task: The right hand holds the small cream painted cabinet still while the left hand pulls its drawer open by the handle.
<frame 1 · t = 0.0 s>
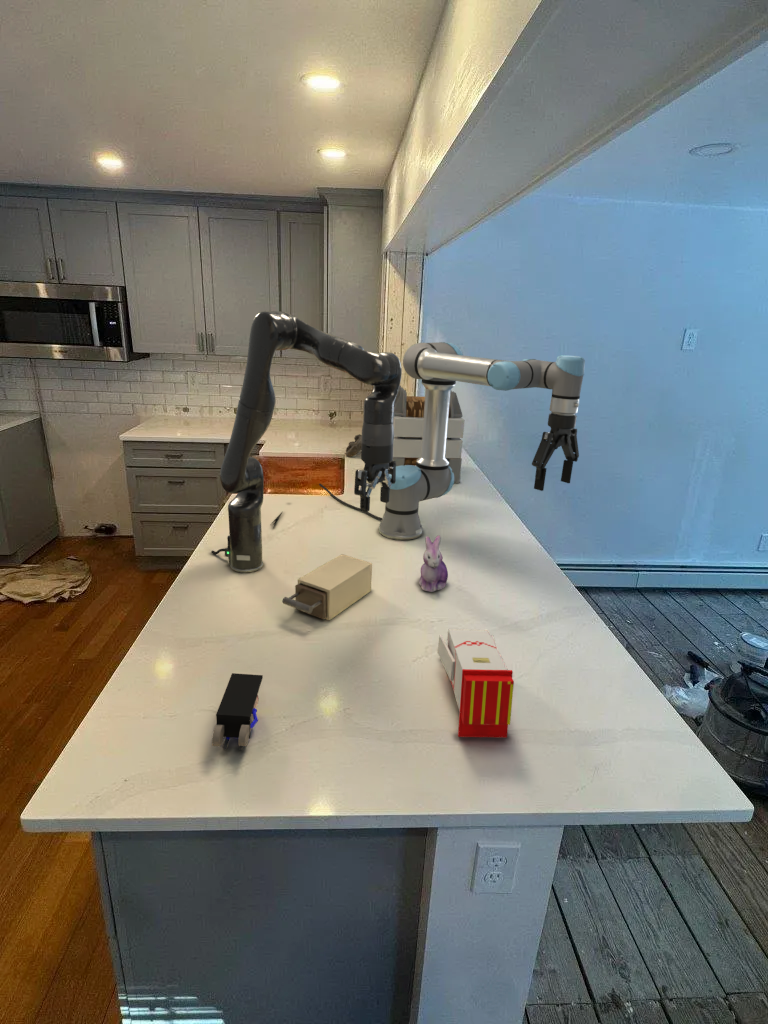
left hand: (374, 506, 138), 29 cm above the counter, tool pointing down, fingers open, 8 cm apart
right hand: (552, 485, 166), 28 cm above the counter, tool pointing down, fingers open, 13 cm apart
feather: (280, 515, 212), on the counter
drawer: (324, 592, 148), point 4 cm above the counter, slide at 0.5 cm
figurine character: (240, 729, 105), on the counter
toy: (469, 691, 119), on the counter
grey slatted crate: (419, 473, 275), on the counter
fossil: (357, 453, 307), on the counter
figurine: (432, 585, 164), on the counter
cabinet: (335, 599, 153), on the counter
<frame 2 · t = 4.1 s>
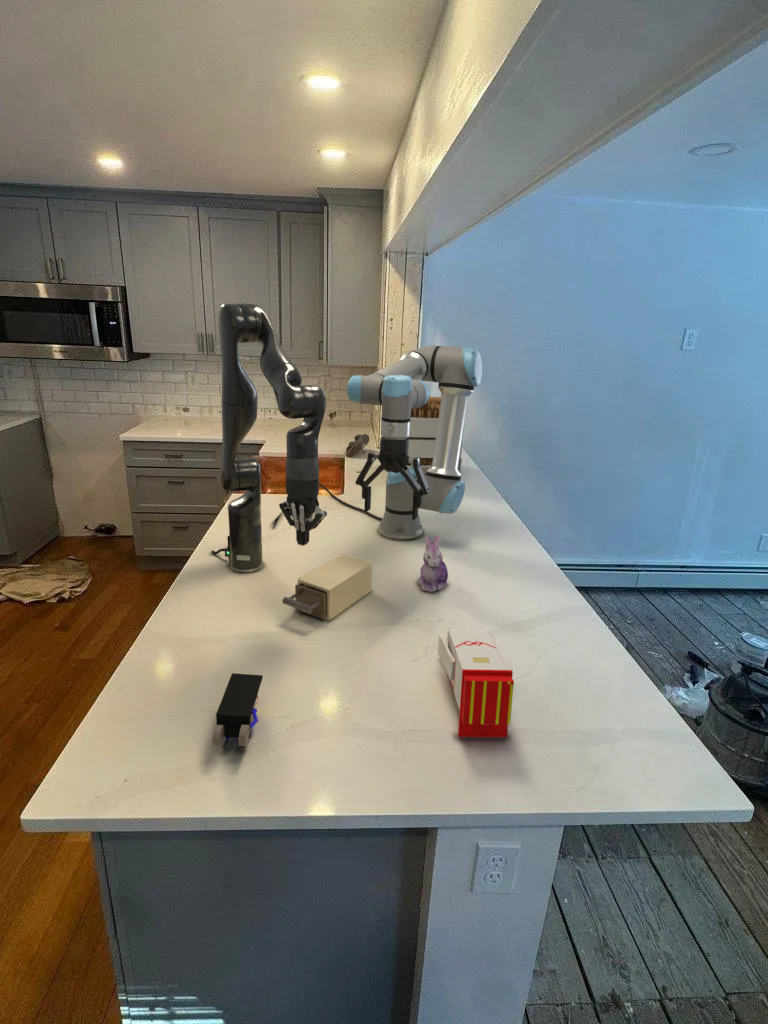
left hand: (302, 544, 135), 21 cm above the counter, tool pointing down, fingers closed
right hand: (390, 514, 154), 22 cm above the counter, tool pointing down, fingers open, 13 cm apart
nothing on the counter moved.
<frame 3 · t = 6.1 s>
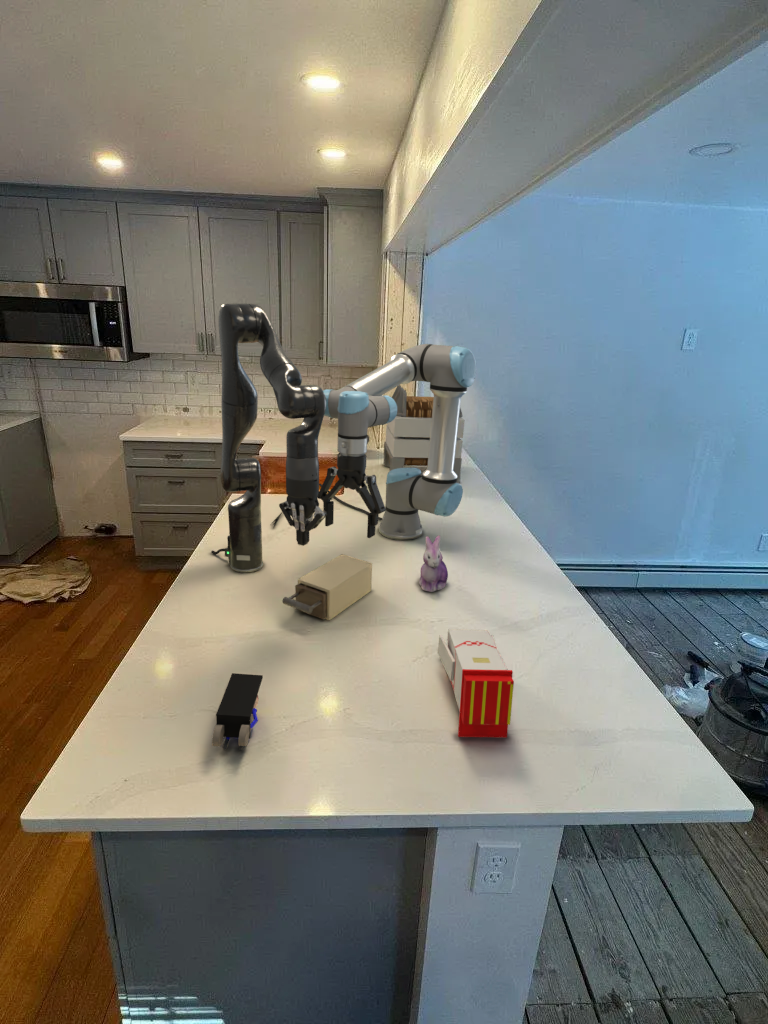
left hand: (302, 544, 135), 21 cm above the counter, tool pointing down, fingers closed
right hand: (349, 530, 152), 18 cm above the counter, tool pointing down, fingers open, 13 cm apart
nothing on the counter moved.
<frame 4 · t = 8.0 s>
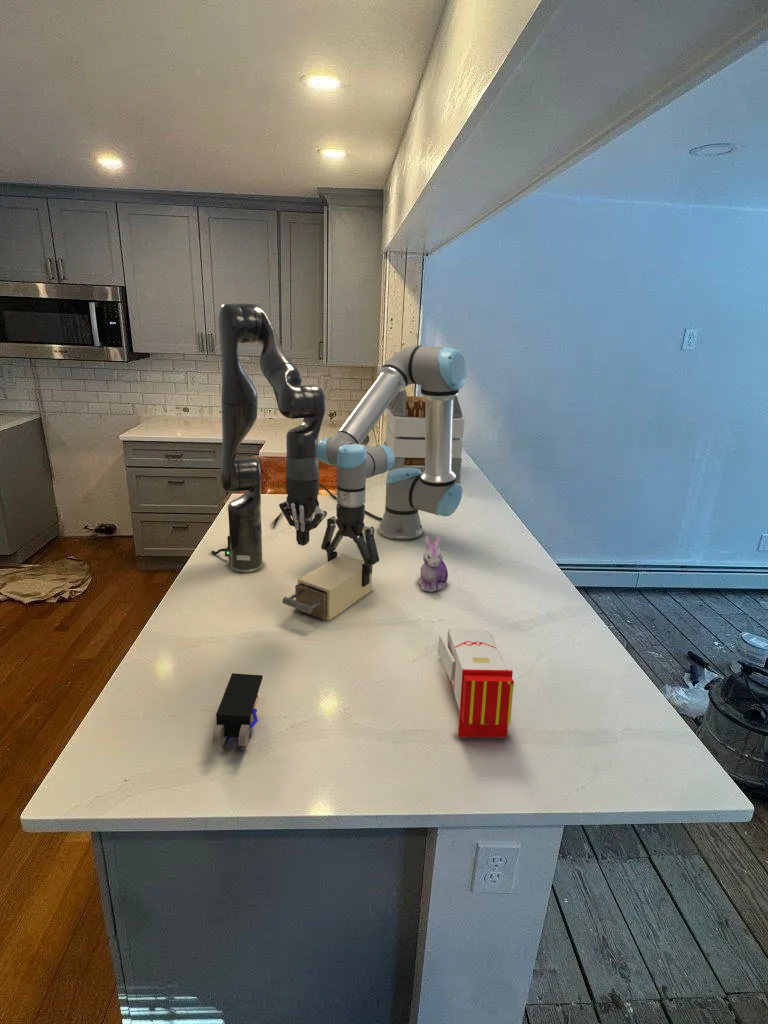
left hand: (302, 544, 135), 21 cm above the counter, tool pointing down, fingers closed
right hand: (348, 579, 157), 4 cm above the counter, tool pointing down, fingers closed on cabinet, 10 cm apart
cabinet: (335, 599, 153), on the counter, touching right hand
everything else where it was.
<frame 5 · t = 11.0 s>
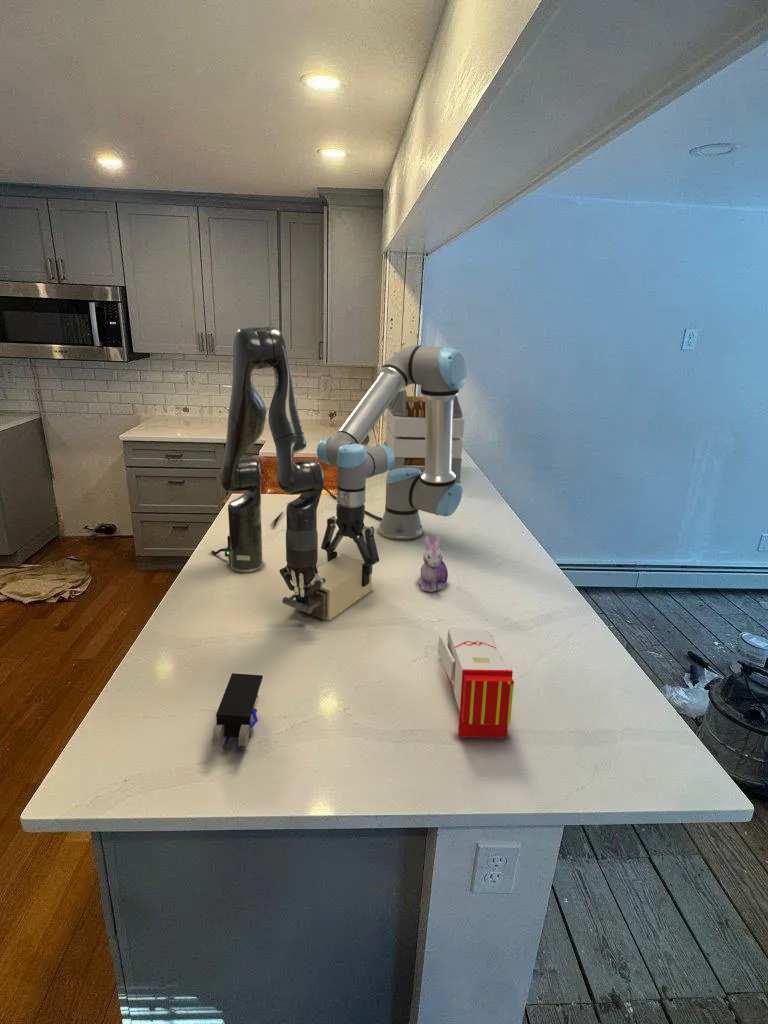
left hand: (302, 607, 141), 4 cm above the counter, tool pointing down, fingers closed
right hand: (348, 579, 157), 4 cm above the counter, tool pointing down, fingers closed on cabinet, 10 cm apart
drawer: (324, 592, 148), point 4 cm above the counter, slide at 0.5 cm, touching left hand
cabinet: (335, 599, 153), on the counter, touching right hand
everything else where it was.
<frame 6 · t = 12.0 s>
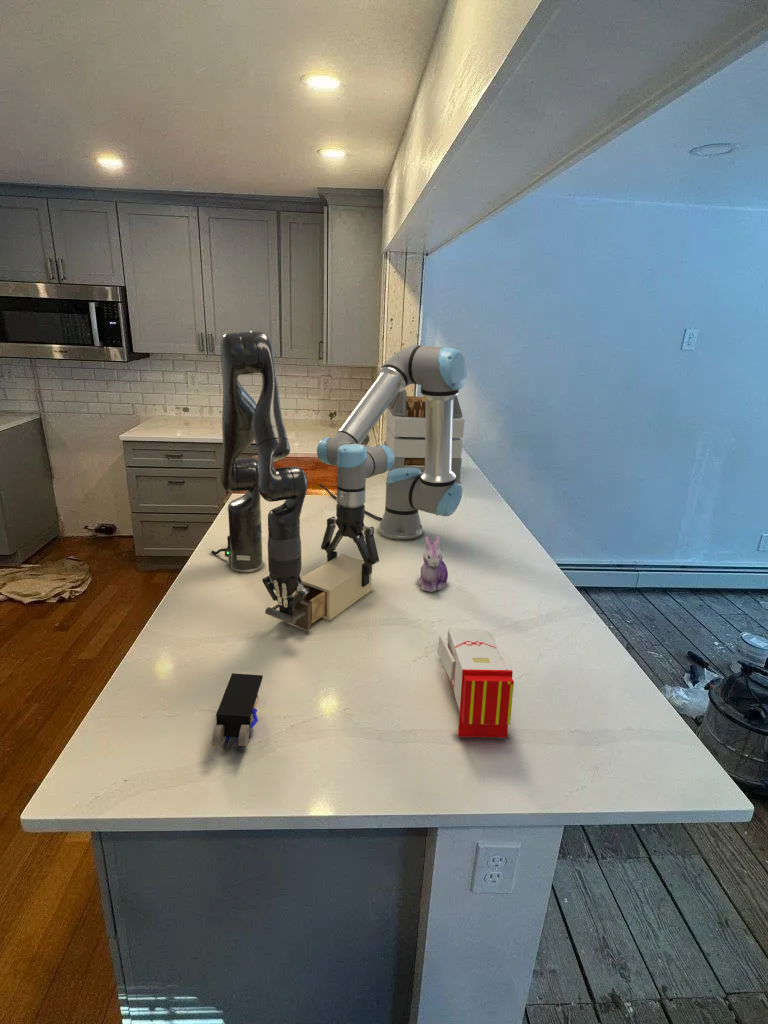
left hand: (286, 618, 136), 4 cm above the counter, tool pointing down, fingers closed
right hand: (348, 579, 157), 4 cm above the counter, tool pointing down, fingers closed on cabinet, 10 cm apart
drawer: (310, 601, 143), point 4 cm above the counter, slide at 6.6 cm, touching left hand
cabinet: (335, 599, 153), on the counter, touching right hand
everything else where it was.
when the right hand's fingers open (4 cm above the counter, at t = 13.9 s): cabinet stays where it is, on the counter.
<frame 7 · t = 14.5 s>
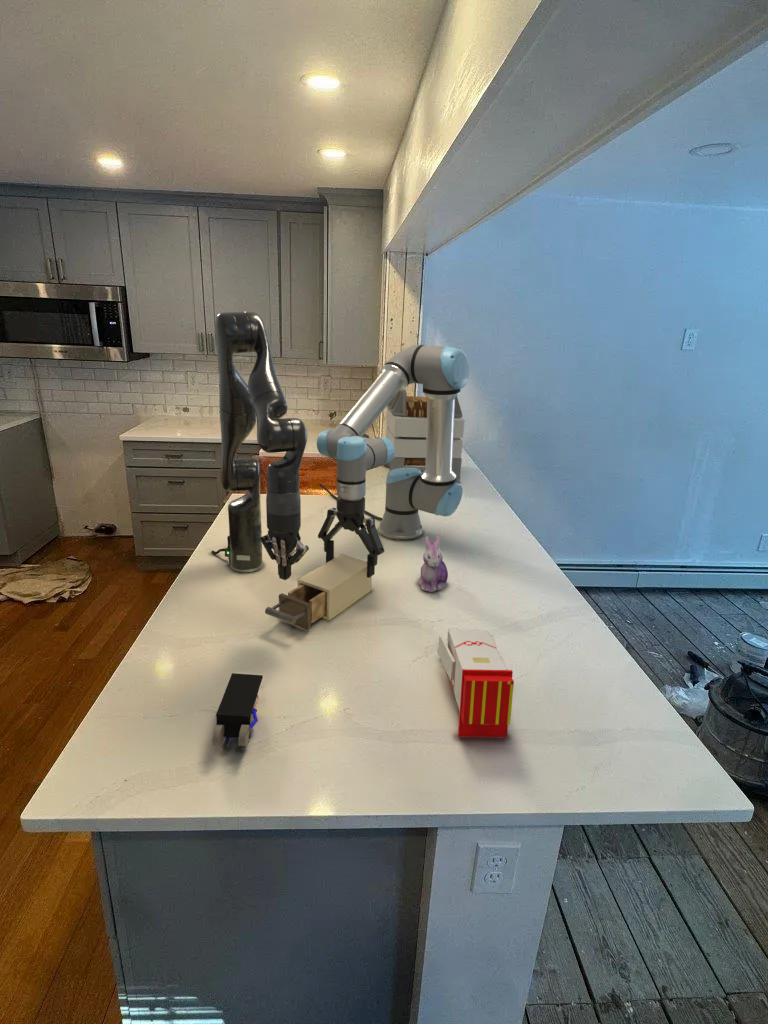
left hand: (284, 578, 132), 15 cm above the counter, tool pointing down, fingers closed
right hand: (349, 569, 156), 7 cm above the counter, tool pointing down, fingers open, 13 cm apart
drawer: (309, 601, 143), point 4 cm above the counter, slide at 6.6 cm
cabinet: (335, 599, 153), on the counter
everything else where it was.
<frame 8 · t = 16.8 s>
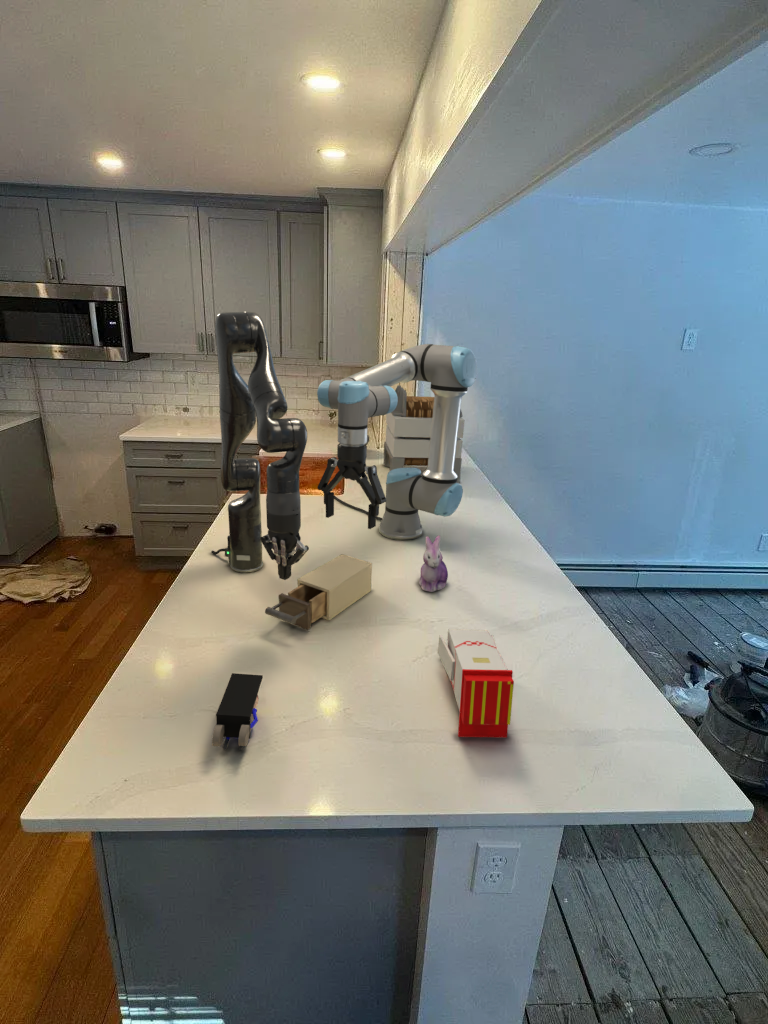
left hand: (284, 578, 132), 15 cm above the counter, tool pointing down, fingers closed
right hand: (350, 521, 151), 21 cm above the counter, tool pointing down, fingers open, 13 cm apart
nothing on the counter moved.
at the end: drawer slide at 6.6 cm; cabinet tilted 0°; cabinet never tilted more than 1° during the clip; cabinet moved 0.1 cm from its start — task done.
